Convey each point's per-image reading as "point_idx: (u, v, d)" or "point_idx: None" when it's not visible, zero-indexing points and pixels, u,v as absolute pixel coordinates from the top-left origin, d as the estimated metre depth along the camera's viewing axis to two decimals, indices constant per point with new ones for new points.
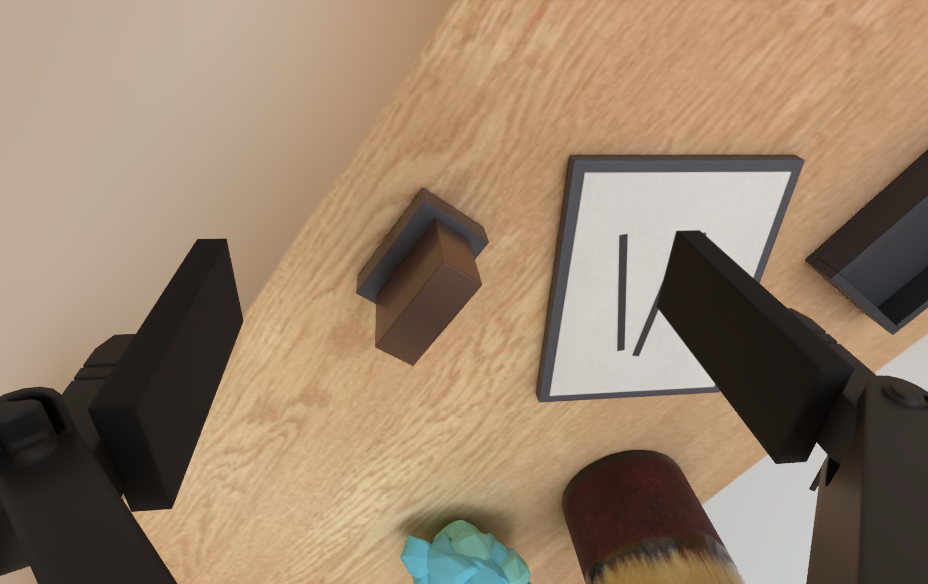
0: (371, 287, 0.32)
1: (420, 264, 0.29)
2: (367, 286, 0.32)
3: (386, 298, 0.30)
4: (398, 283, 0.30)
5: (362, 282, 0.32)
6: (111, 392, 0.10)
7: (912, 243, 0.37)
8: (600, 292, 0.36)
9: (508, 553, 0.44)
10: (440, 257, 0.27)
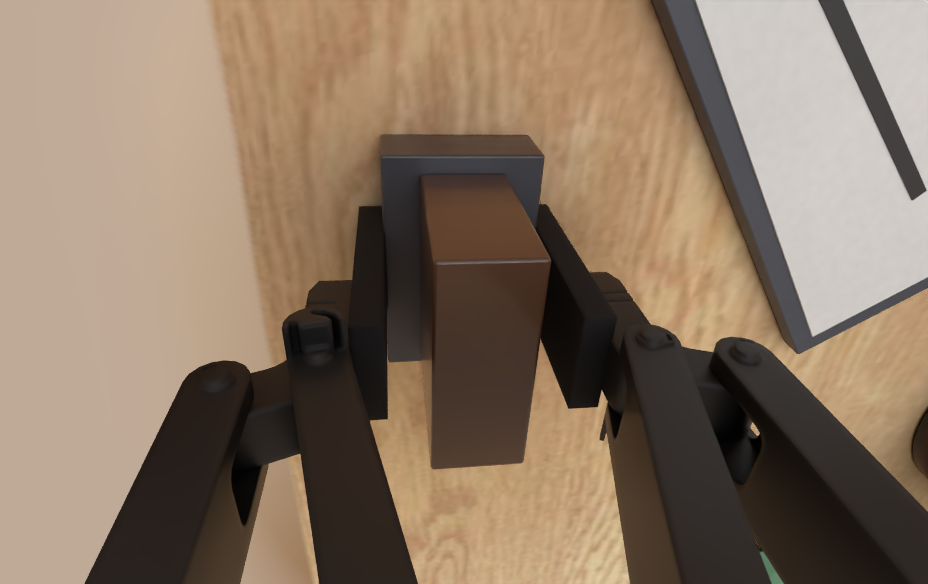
0: (404, 341, 0.18)
1: (425, 278, 0.14)
2: (397, 343, 0.18)
3: (423, 356, 0.16)
4: (423, 323, 0.15)
5: None
6: (359, 316, 0.12)
7: None
8: (821, 115, 0.17)
9: None
10: (430, 255, 0.11)
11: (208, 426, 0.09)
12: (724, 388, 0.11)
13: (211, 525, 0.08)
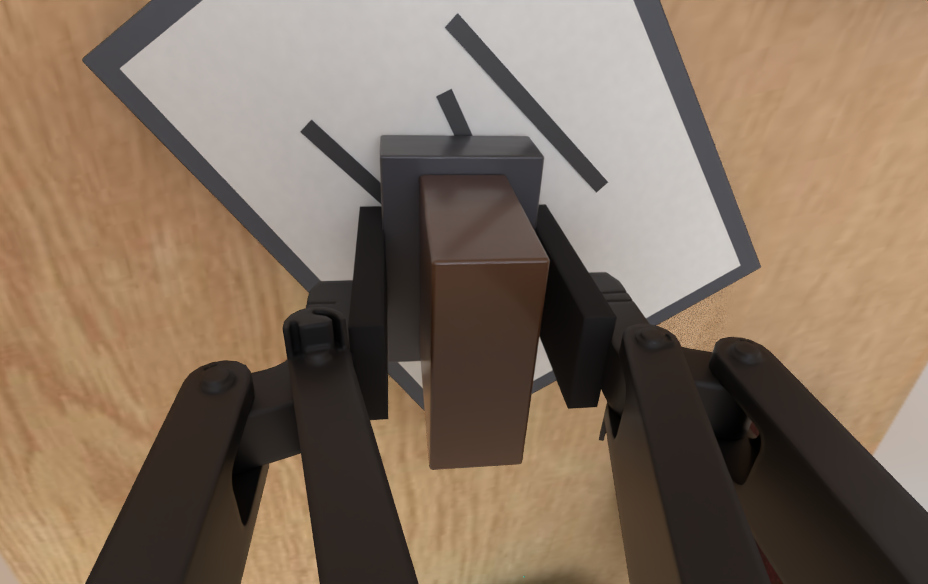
0: (403, 342, 0.18)
1: (424, 278, 0.14)
2: (396, 344, 0.18)
3: (422, 356, 0.16)
4: (422, 324, 0.15)
5: None
6: (359, 316, 0.12)
7: None
8: None
9: None
10: (429, 255, 0.11)
11: (209, 426, 0.09)
12: (724, 388, 0.11)
13: (212, 525, 0.08)
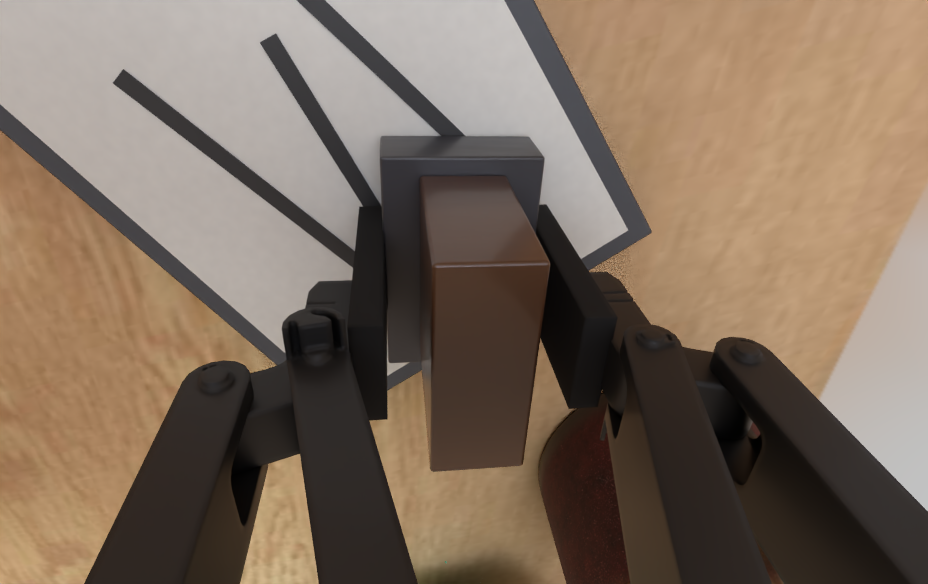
0: (404, 343, 0.18)
1: (425, 280, 0.14)
2: (397, 345, 0.18)
3: (423, 357, 0.16)
4: (423, 325, 0.15)
5: None
6: (359, 316, 0.12)
7: None
8: (217, 207, 0.17)
9: None
10: (429, 258, 0.11)
11: (208, 426, 0.09)
12: (725, 388, 0.11)
13: (211, 525, 0.08)
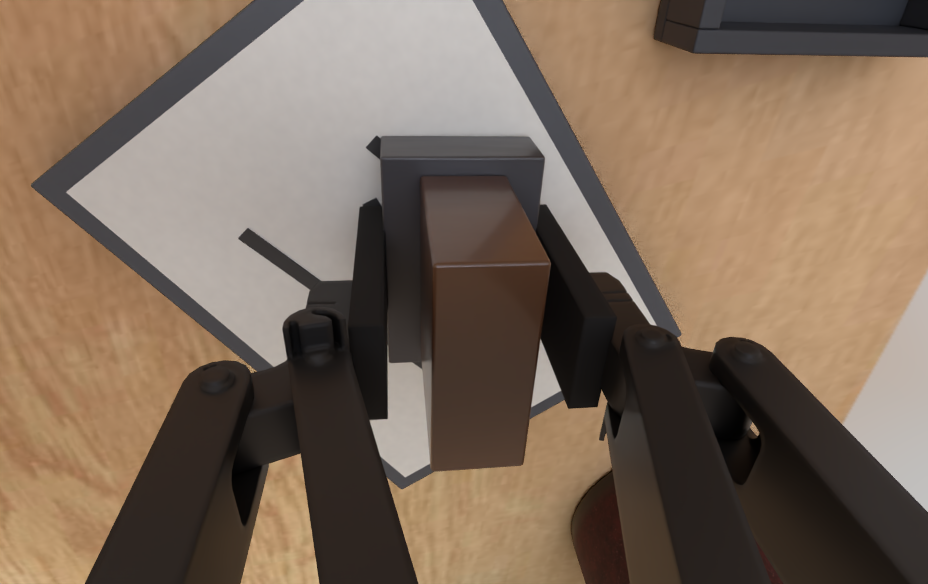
0: (404, 343, 0.18)
1: (425, 280, 0.14)
2: (397, 345, 0.18)
3: (423, 358, 0.16)
4: (423, 325, 0.15)
5: (388, 342, 0.18)
6: (359, 316, 0.12)
7: None
8: None
9: None
10: (430, 258, 0.11)
11: (208, 426, 0.09)
12: (724, 388, 0.11)
13: (211, 525, 0.08)
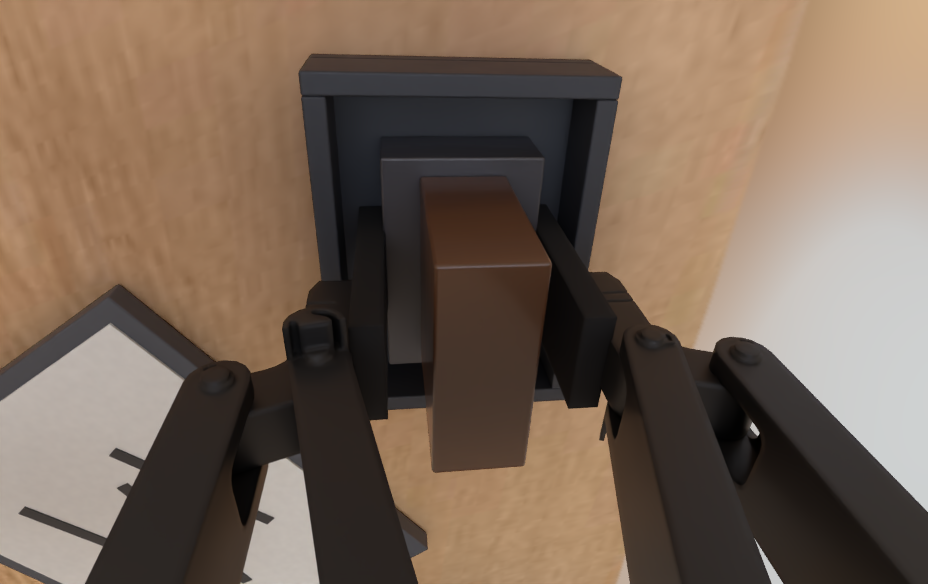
0: (405, 344, 0.18)
1: (426, 281, 0.14)
2: (398, 346, 0.18)
3: (424, 359, 0.16)
4: (424, 327, 0.15)
5: (388, 343, 0.18)
6: (359, 316, 0.12)
7: None
8: None
9: None
10: (431, 259, 0.11)
11: (208, 426, 0.09)
12: (724, 388, 0.11)
13: (211, 525, 0.08)
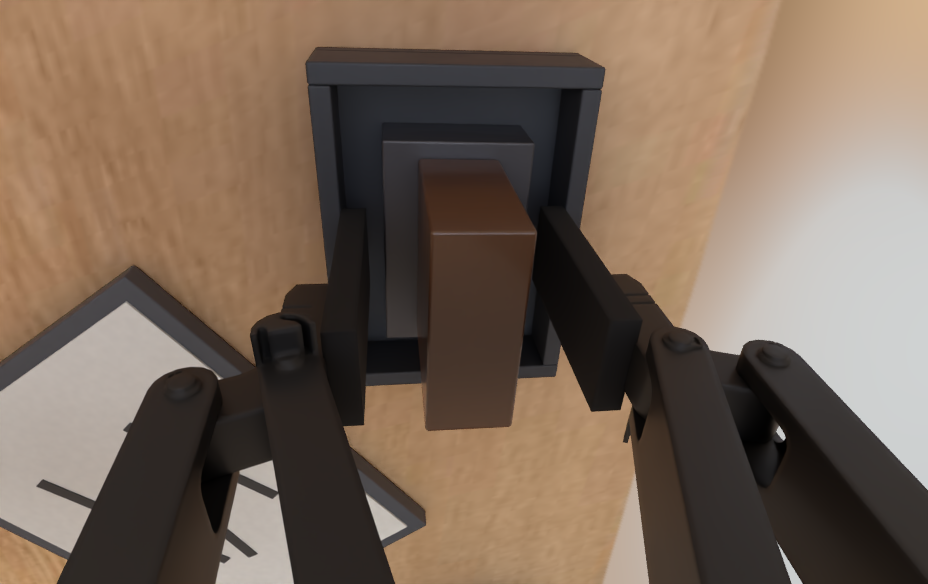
0: (401, 318, 0.19)
1: (422, 253, 0.15)
2: (395, 320, 0.19)
3: (419, 329, 0.17)
4: (420, 298, 0.16)
5: (386, 317, 0.19)
6: (332, 321, 0.12)
7: None
8: None
9: None
10: (428, 227, 0.13)
11: (175, 434, 0.09)
12: (752, 391, 0.11)
13: (181, 534, 0.08)
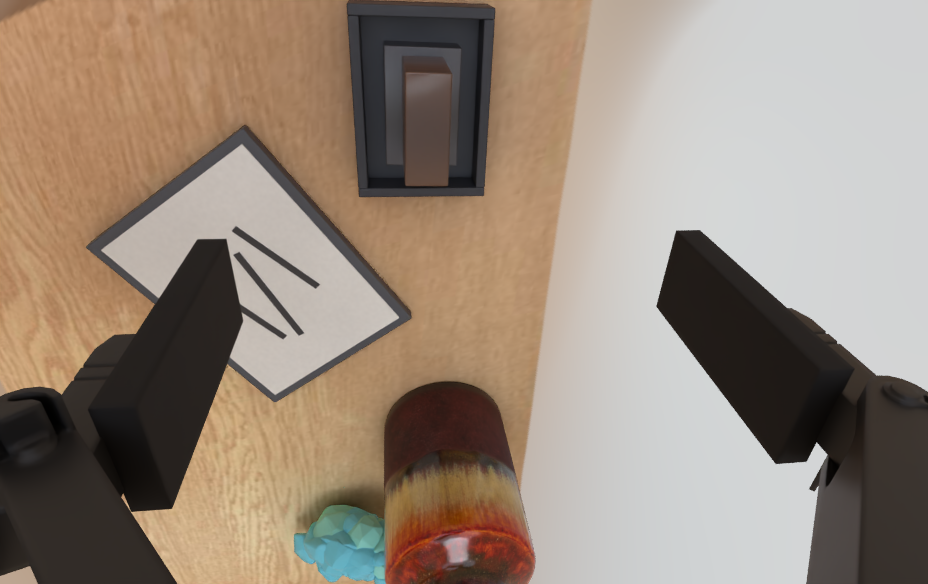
0: (394, 152, 0.35)
1: (403, 97, 0.30)
2: (390, 153, 0.35)
3: (403, 148, 0.33)
4: (403, 128, 0.32)
5: None
6: (111, 392, 0.10)
7: None
8: None
9: (357, 520, 0.50)
10: (404, 73, 0.28)
11: None
12: None
13: None
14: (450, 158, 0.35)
